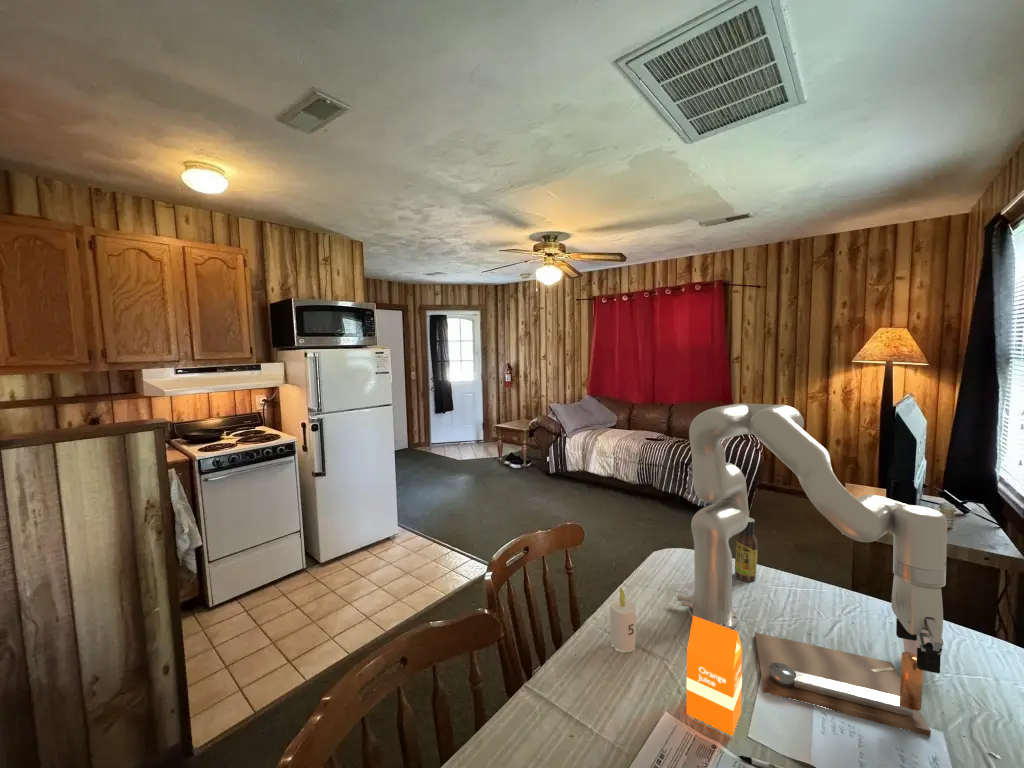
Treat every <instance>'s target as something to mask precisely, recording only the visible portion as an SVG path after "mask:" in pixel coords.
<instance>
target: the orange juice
mask: <svg viewBox="0 0 1024 768" xmlns="http://www.w3.org/2000/svg"><path fill="white" fill-rule="evenodd" d="M742 674H743V646H742V644H741V639H740V635H739V631H737V630H734V629H733V628H732V629H729V628H726V627H723V626H721V625H718V624H715V623H712V622H709V621H707V620H704V619H701V618H698V617H696V616H693V619H692V618H691V625H690V632H689V637H688V643H687V649H686V715H687V714H688V715H690V716H691V717H693V718H696V719H698V720H700V721H703V722H704V723H706V724H708V725H711V726H712V727H714V728H717V729H718V730H720V731H723V732H725V733H727V734H729V735H731V736H733V733H734V731H735V732H736V730H735V728H736V729H737V727H736V725H737V726H738V724H737V722H738V723H739V721H738V719H739V720H740V718H739V717H741V715H742V686H743V675H742ZM740 714H741V715H740ZM734 734H735V733H734ZM733 737H734V736H733Z"/></svg>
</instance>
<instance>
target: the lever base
mask: <svg viewBox="0 0 1024 768" xmlns="http://www.w3.org/2000/svg"><path fill="white" fill-rule="evenodd" d="M754 640H755V641H754V642H755V646H756V654H757V659H758V666H759V671H760V678H761V684H762V692H763V693H767V694H770V695H774V696H778V697H781V696H782V697H781V698H784V697H786V698H785V699H788V698H791V699H790V700H792V699H796V700H799V701H803V702H807V703H810V704H815V705H819V706H823V707H826V708H829V709H832V710H831V711H833V710H834V712H837V711H839V712H838V713H840V712H841V714H844V713H845V714H844V715H848V716H852V717H856V718H860V719H863V720H867V721H871V722H875V723H878V724H882V725H886V726H889V727H893V728H897V729H900V728H902V729H901V730H904V729H906V730H905V731H908V730H910V731H909V732H911V731H912V733H916V734H920V735H923V736H927V737H931V734H932V733H931V732H932V731H931V728H930V727H929V725H928V723H927V722H926V720H925V718H924V716H923V715H922V713H921V710H919V711H915V710H913V717H910V716H906V715H902V714H898V713H895V712H891V711H887V710H883V709H879V708H875V707H871V706H867V705H863V704H859V703H856V702H852V701H848V700H844V699H840V698H836V697H832V696H828V695H824V694H820V693H817V692H813V691H809V690H805V689H801V688H797V687H793V688H785V687H782V686H779V685H777V684H776V683H774V682H773V681H772V680H771V678H770V676H769V671H770V664H772V663H782V664H785V665H787V666H789V667H791V668H792V669H793V670H794V671H797V672H801V673H805V674H809V675H813V676H817V677H821V678H825V679H830V680H834V681H838V682H842V683H846V684H850V685H854V686H858V687H862V688H867V689H871V690H875V691H879V692H883V693H887V694H891V695H895V696H899V697H900V682H901V675H900V674H899V673H898V671H897V669H896V667H895V666H894V665H895V664H894V663H893V662H892V661H888V660H882V659H880V658H874V657H869V656H865V655H860V654H856V653H852V652H851V653H850V652H846V651H843V650H842V651H841V650H836V649H833V648H828V647H824V646H819V645H814V644H809V643H806V642H802V641H801V642H800V641H795V640H792V639H788V638H787V639H786V638H782V637H777V636H773V635H768V634H764V633H758V632H754ZM796 700H795V701H796ZM799 701H798V702H799ZM803 702H802V703H803ZM807 703H806V704H807ZM810 704H809V705H810ZM829 709H828V710H829Z"/></svg>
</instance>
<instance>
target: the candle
mask: <svg viewBox="0 0 1024 768" xmlns="http://www.w3.org/2000/svg"><path fill="white" fill-rule="evenodd" d="M609 610H610V611H609V613H610V615H609V616H610V617H609V619H610V621H609V622H610V624H609V625H610V631H609V632H610V645H611V644H612V645H613V646H614V647H615V648H617V649H619V650H623V651H629V650H632V649H634V648H635V646H636V647H637V645H636V640H637V639H636V635H637V634H636V632H637V631H636V627H637V625H636V624H637V623H636V617H637V615H636V605H635V604H634V603H633V601H631V600H629V599H626V597H625V593H624V590H623V588H622V587H620V588H619V598H616V599H613V600H612V601H610V604H609ZM635 649H636V648H635Z"/></svg>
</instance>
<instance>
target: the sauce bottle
mask: <svg viewBox="0 0 1024 768" xmlns="http://www.w3.org/2000/svg"><path fill="white" fill-rule="evenodd" d="M755 524H756V521H755V519H754V518H752V517H750V516H749V519H748V524H747V526H746V528H745V529H744V530H743V531H741V532H740V533H738V534H737V535H736V540H735V556H734V575H735V577H737V578H738V579H739V580H742V581H744V582H754V581H755V580H756V578H757V577H756V576H757V570H758V569H757V568H758V567H757V566H758V565H757V563H758V550H759V549H758V539H757V537H756V534H755Z"/></svg>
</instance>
